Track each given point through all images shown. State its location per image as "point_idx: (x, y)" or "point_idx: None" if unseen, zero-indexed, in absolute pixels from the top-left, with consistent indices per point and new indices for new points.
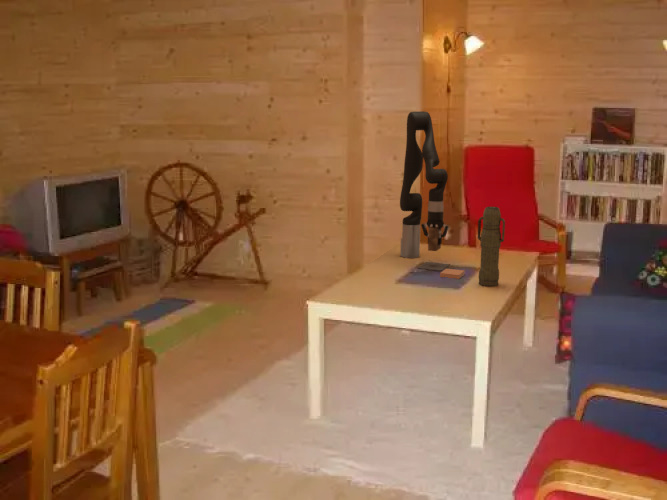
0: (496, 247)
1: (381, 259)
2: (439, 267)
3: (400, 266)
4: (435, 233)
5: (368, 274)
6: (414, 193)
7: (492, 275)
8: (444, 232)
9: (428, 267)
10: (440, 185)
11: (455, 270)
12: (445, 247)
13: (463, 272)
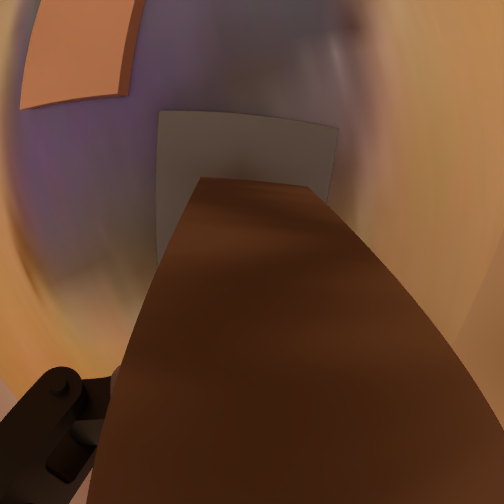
0: None
1: (479, 281)
2: (191, 181)
3: (430, 168)
4: (169, 385)
5: (488, 6)
6: None
7: None
8: (16, 439)
9: (267, 152)
10: None
11: (59, 76)
12: None
13: (26, 85)
